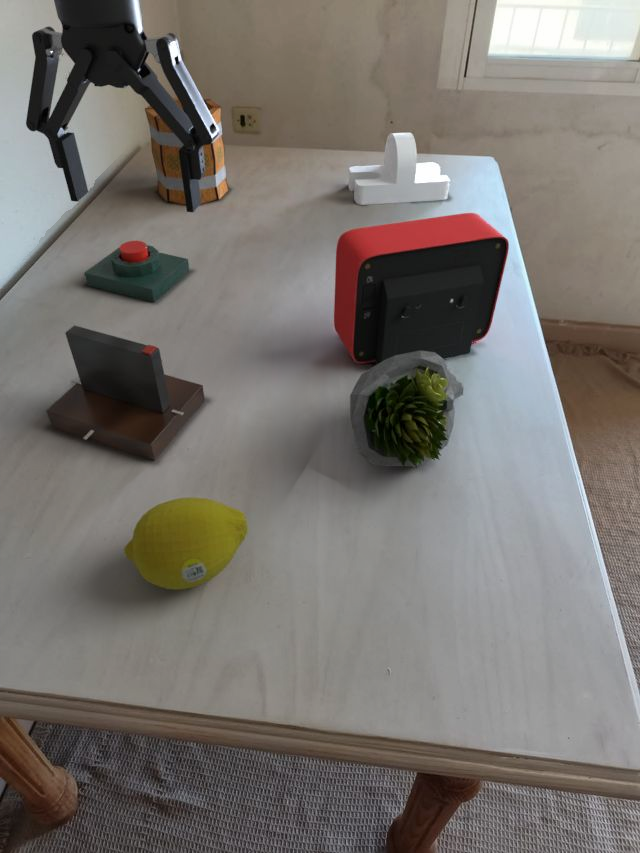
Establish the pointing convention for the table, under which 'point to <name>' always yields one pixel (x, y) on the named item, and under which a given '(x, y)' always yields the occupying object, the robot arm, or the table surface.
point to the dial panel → (126, 417)
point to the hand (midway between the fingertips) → (136, 202)
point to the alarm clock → (417, 286)
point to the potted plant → (404, 409)
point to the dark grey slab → (119, 368)
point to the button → (134, 251)
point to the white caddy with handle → (398, 176)
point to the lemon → (186, 542)
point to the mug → (169, 162)
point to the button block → (138, 274)
